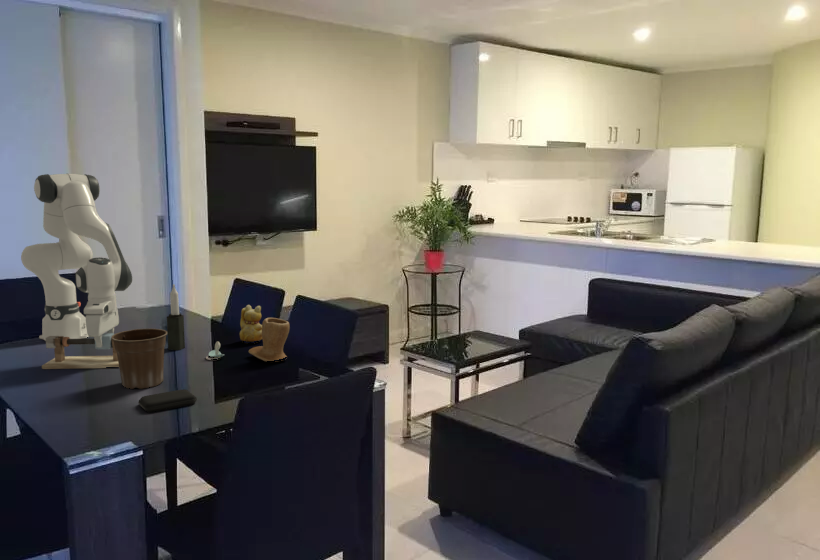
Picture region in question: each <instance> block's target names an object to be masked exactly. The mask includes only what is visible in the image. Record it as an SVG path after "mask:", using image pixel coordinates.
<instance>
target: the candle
mask: <svg viewBox="0 0 820 560" xmlns="http://www.w3.org/2000/svg"><path fill="white" fill-rule="evenodd" d="M175 286H176V284H174V283H173V284H172V288H171V291H170V292H169V300H170V302H169V303H170V314H168V315H167V316H166V329H167V330H166V331H167V350H169V351H181V350H183V349H186V338H185V335H186V334H185V319H184V317H185V315H184V314H182V313H180V305H179V303H180V302H179V301H180V300H179V292H178V291H177V289H176V287H175Z"/></svg>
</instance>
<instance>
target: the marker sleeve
mask: <svg viewBox="0 0 820 560" xmlns="http://www.w3.org/2000/svg"><path fill="white" fill-rule="evenodd" d="M114 334H115V333H107V332H105V333H104V334H102V338H101V339H102V341H103V346H102V347H96V341H95V344H94V347H95V350H111V349H113V347H112V344H111V337H112V335H114Z"/></svg>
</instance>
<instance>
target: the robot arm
mask: <svg viewBox="0 0 820 560" xmlns="http://www.w3.org/2000/svg"><path fill="white" fill-rule="evenodd" d="M33 189H34V190H33V191H34V194H35V197H36V198H37V199H38V201H40V202H41V203H43V220H42V221H43V222H42V224H43V225H42V227H43V230H44V231H45V232H46V233H47V234H48V235H50V236H52V237H54V238H57V239H59V241H57V242H46V243H36V244H31V245H27V246H25V247H24V248H23V250H22V252H21V257H20V260H21V263H22V266H24V268H26V270H28V271H30V272H31V273H32V274H34V275H35V276H36V277H37V278H38V279H39V280H40V282H41V284H42V287H43V291H44V296H45V297H44V299H45V304H44V314H45V316H44V317H42V323H41V325H42V328H41V330H42V334H40V335H39V337H38V339H39V340H43V341H44V342H46V338H47V337H49V336H64V337H69V338H70V339H88V338H89V337H90V338H93V339H95V341H96V347H102V346H103V341H102V339H101V338H102V334H104V333H114V332H115V327H117V326H118V325H119V323H120V317H119V309H118V305H117V294H116V292H124V291H126V290H127V289H128V288H129V287H130V286H131V284H132V282H133V273H132V271H131V269H130V267H129V265H128V263H127V262H126V259H125V257H124V255H123V252H122V250H121V247H120V244H119V243H118V241H117V238H116V236H115V233H114V231H113V229H112V227H111V226H110V224H109V223H107V222H105V221H104V220H103V219H102V218H101V217H100V216H99V213H98V210H97V207H96V203H95V201H96V200H97V199H98V198H99V196H100V191H101V188H100V183H99V181H98V179H97V178H96V177H95V176H94V175H91V174H86V173H85V174H80V173H57V174H48V173H45V174H41V175H38V176H37V177H36V178H35V180H34V185H33ZM80 236H81V237H85V238H88V239H91V240H95V241H96V242H98V243H100V244H101V246H103V247H104V250H105V252H106V254H107V255H106V256H107V257H94V253H93V252H94V251H93V249H92V247H91V246H90V245H89V244H88V243H87V242H85V241H83V240H82V239H81V238H80ZM75 269H76V272H75V273H74V274H75V275H74V277H75V283H74V282H73V281H72V280H70V279H68V278H65V277H63V276H61V275H60V273H59V271H63V270H75ZM77 289H78V290H79V291H80V292H82V293H87V300H88V301H87V302H86V305H85V307H84V308H83V314H82V312H80V307H81V301H77ZM114 334H115V333H114ZM87 337H88V338H87Z"/></svg>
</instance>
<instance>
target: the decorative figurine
mask: <svg viewBox="0 0 820 560" xmlns="http://www.w3.org/2000/svg"><path fill="white" fill-rule="evenodd" d="M261 311H262V306H261V305H257V306H255V308H254V309H253V308H252V306H251V305H250V304H247V305H246V306H245V307H243V308H241V312H240V322H239V325H240V329H241V330H240V331H239V338H240V339H239V340H240V341H242V342H243V341H246V342H254V341H259V342H260V341H261V340H262V341H263V339H262V323H260V321H261V319H262V312H261Z"/></svg>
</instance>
